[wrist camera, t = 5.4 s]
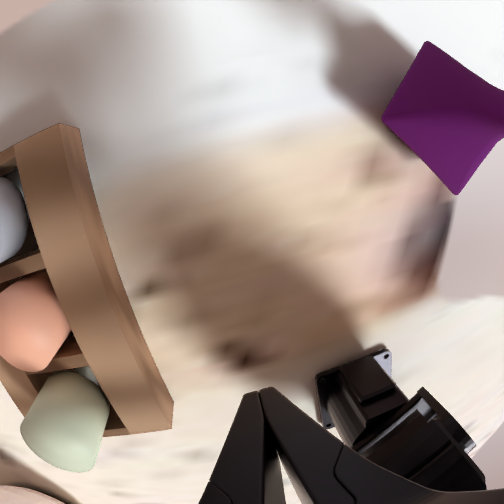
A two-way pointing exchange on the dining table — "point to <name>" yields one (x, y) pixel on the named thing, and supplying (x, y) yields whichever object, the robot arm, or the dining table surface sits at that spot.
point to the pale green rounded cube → (67, 422)
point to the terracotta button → (31, 322)
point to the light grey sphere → (11, 219)
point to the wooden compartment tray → (81, 287)
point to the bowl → (24, 496)
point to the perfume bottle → (446, 116)
